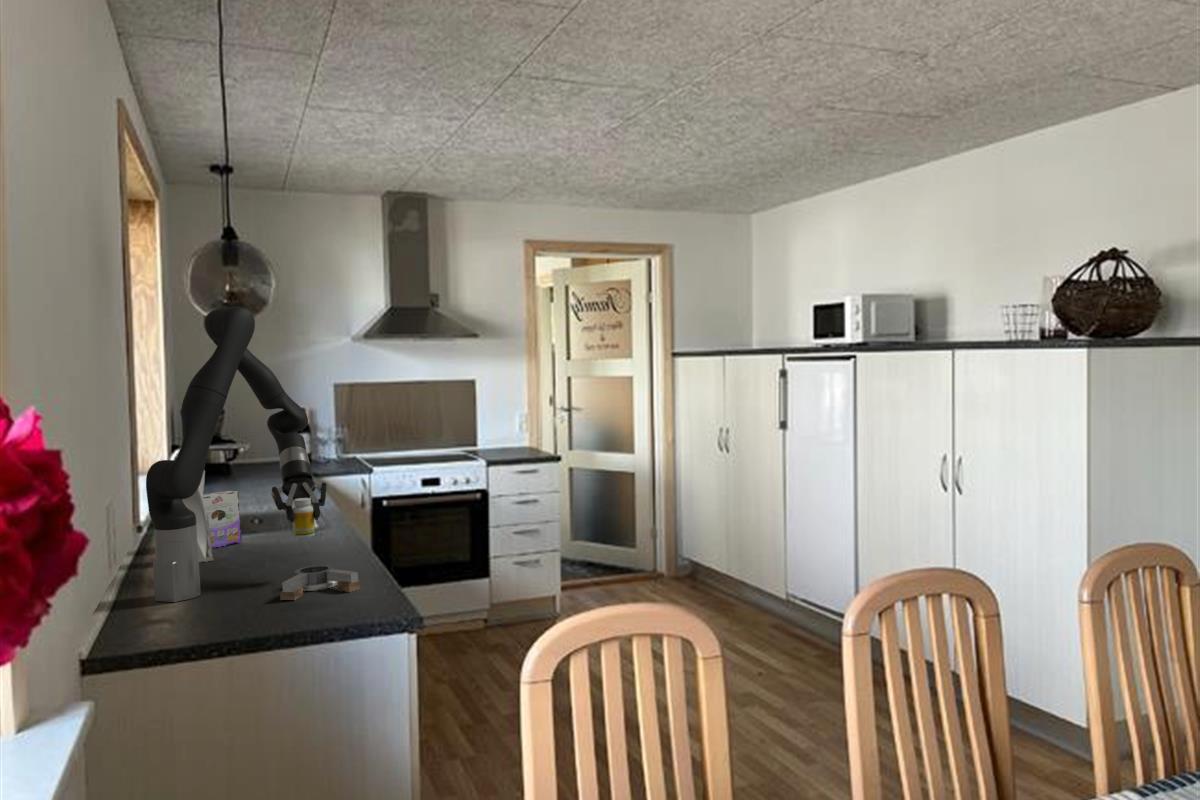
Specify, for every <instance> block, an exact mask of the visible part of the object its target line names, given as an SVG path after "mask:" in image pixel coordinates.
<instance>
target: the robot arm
mask: <svg viewBox="0 0 1200 800" xmlns="http://www.w3.org/2000/svg"><path fill="white" fill-rule="evenodd" d="M204 328H205V331H206V333H207V335H208V337H209V338H210V340H211V341H212V342H213V343H214V344H215V345H216V348H215V350H214V352H213V354H211V356H210V358H208V360H206V362H205V363H204V364H203V366H202V367H201V368H199V370H198V371H197V372H196V374H194V376H193V377H192V379H191V380H190V382H189V384H188V387H187V388H186V391H185V394H184V396H183V400H182V403H181V408H180V409H181V410H180V412H181V414H180V415H181V422H182V427H183V440H182V443H181V446H180V449H179V451H178V454H177V457H176V458H175V459H164V460H163V459H161V460H158V461H156V462H154V463H153V464H152V465H151V466H150V467H149V469H148V470H147V473H146V479H145V489H146V490H145V491H146V499H147V500H146V501H147V506H148V508H147V509H148V513H149V517H150V519H151V520H152V523H153V531H154V533H153V534H154V549H155V551H154V552H155V560H154V561H153V562H152V572H153V585H154V587H153V588H154V601H155V602H166V603H167V602H169V603H177V602H180V601H181V602H182V601H187V600H190V599H194V598H196V597H199V596H200V595H201V593H202V591H201V579H200V563H199V559H198V544H197V527H196V515H195V513H194V512H192V511H191V510H189V509H188V508H187V507H186V506H185V504H184V503H183V499H186V498H189V497H191V496H192V495H193V494H194V493H195V492H196V491H197V489H198V487H199V485H200V483H201V480H202V476H203V472H204V471H205V467H206V462H207V458H208V454H209V451H210V447H211V445H212V444H211V443H212V441H213V437H214V434H215V432H216V428H217V425H218V422H219V420H220V417H221V415H222V412H223V410H224V406H225V404H226V401H227V399H228V395H229V392H230V389H231V387H232V383H233V381H234V378H235V376H236V373H237V371H238V373H239V374H241V376H242V377H243V378H244V380H245V381H246V383H247V384H248V386H249V387H250V389H251V391H252V392H253V393H254V395H255V397H256V399H257V400H258V402H259V404H260V405H261V406H262V407H263V409H265V410H268V411H270V410H277V409H278V410H279V409H280V411H278V412H277V411H276V412H274V413H272V414H271V415H270V416H269V417H268V419H267V420H266V421H267V422H266V425H267V429H268V430H269V432H270V434H271V435H272V437H273V438H274V441H275V443H276V445H277V449H278V456H279V470H280V474H281V480H282V485H281V487H280V486H279V487H276V486H272V487H271V497H272V499H273V501H274V504H275V506H276V508H277V510H279V511H283V510H284V511H285V515H286V520H287V521H289V523H292V522H293V520H294V516H293V510H292V509H293V507H292V506H293V505H294V500H295V499H299V498H310V499H311V504H310V506H312V507H313V508H314V521H317V520H319V518H320V516H321V508H320V507H324V506H325V504H326V498H327V497H326V495H327V483H326V482H321V484H320V483H319V484H318V483H316V482H315V481H314V479H313V474H312V473H313V472H312V468H311V462H310V459H309V455H308V451H307V448H306V441H305V439H304V437H303V435H302V434H300V433H298V432H300V431H303V430H305V429H306V428H307V426H308V423H309V418H308V414H307V413H306V411H305V409H303V408H302V407H301V406H300V405H299V404H298V403H296V401H294V400H293V399H292V398H291V397H290V395H289V394H287V392H286V391H285V390H284V388H283V385H282V384H281V382H280V381H279V379H278V377H277V376H276V375H275V373H274V372H273V371H272V369H270V368H269V367H268V366H267V365H266V364H264V363H263V362H262V361H261V360H260V359H259V358H258V357H257V356H255V355H254V354H253V353H252V352H251V351H250V350H249V349H248V346H249V344H250V342H251V340H252V338H253V336H254V332H255V330H256V329H255V328H256V320H255V316H254V314H253V313H252V311H251V310H250V309H248V308H247V307H244V306H231V307H222V308H216V309H213V310H211V311H210V312H208V314H207V315H206V317H205V320H204ZM281 409H282V410H281ZM315 490H317V492H318V493H319V494H320V497H319V499H318V498H317V496H316V494H315ZM282 493H283V494H284V495H286V496H287V498H286V502H285V501H283V499H282Z"/></svg>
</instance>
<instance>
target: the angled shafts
mask: <svg viewBox="0 0 1200 800" xmlns="http://www.w3.org/2000/svg"><path fill="white" fill-rule="evenodd" d="M358 574H359V573H358V572H357V571H351V570H343V569H337V568H336V569H335V568H334V569H333V570H329V571H327V580H330V581H338V582H346V583H354V582H357V581H358V580H359V575H358ZM307 583H308V574H298V575H296V576H295V575H294V576H292V577H291V578H288V579H286V580H285V581H282V583H281V584H282V591H283V592H292V591H294V590H296V589H298V588H300V587H302V586H303V585H305V584H307Z"/></svg>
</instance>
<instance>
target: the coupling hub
mask: <svg viewBox="0 0 1200 800" xmlns="http://www.w3.org/2000/svg"><path fill="white" fill-rule="evenodd" d="M333 569H335V568H334V566H332V565H331V564H330V565H329V564H317V565H309V566H303V567H300V568H297V569H296V570H295V571H294V576H296V575H298V574H308V583H307V584H305V585H303V586H302V587H303V591H304V592H303V593H306V592H305V591H313V592H319V591H318V590H321V591H324V589H326V590H328V589H327V588H330V589H332V588H331V587H333V588H335V587H334V586H336V585H337V582H338V581H330V580H327V571H329V570H333ZM336 587H337V586H336Z"/></svg>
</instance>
